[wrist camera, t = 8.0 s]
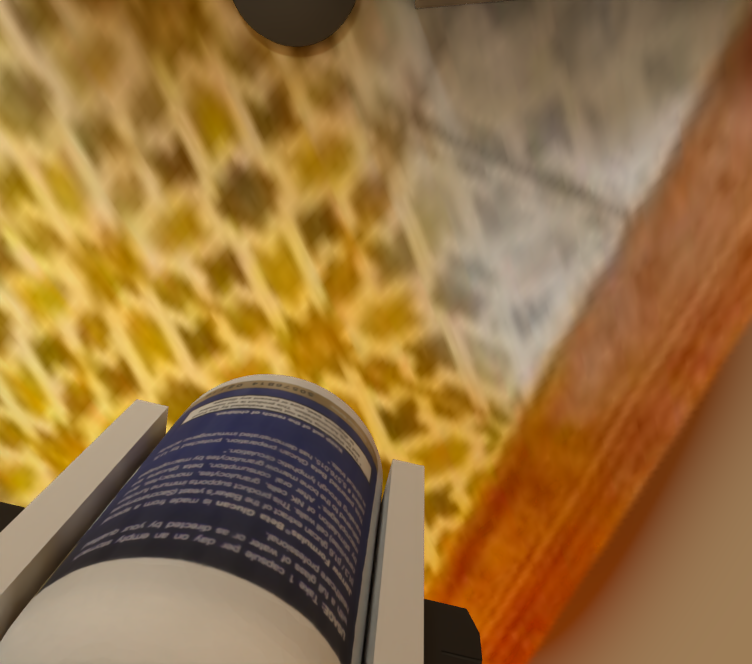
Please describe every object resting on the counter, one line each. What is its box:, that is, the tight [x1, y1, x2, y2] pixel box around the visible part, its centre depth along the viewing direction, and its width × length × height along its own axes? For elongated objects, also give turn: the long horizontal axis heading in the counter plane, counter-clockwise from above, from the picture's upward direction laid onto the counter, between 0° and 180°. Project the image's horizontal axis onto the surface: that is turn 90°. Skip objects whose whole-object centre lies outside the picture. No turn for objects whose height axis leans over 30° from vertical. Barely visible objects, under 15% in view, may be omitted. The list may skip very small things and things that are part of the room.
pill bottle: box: [0, 374, 383, 664], centre depth 10 cm, size 5×5×10 cm
